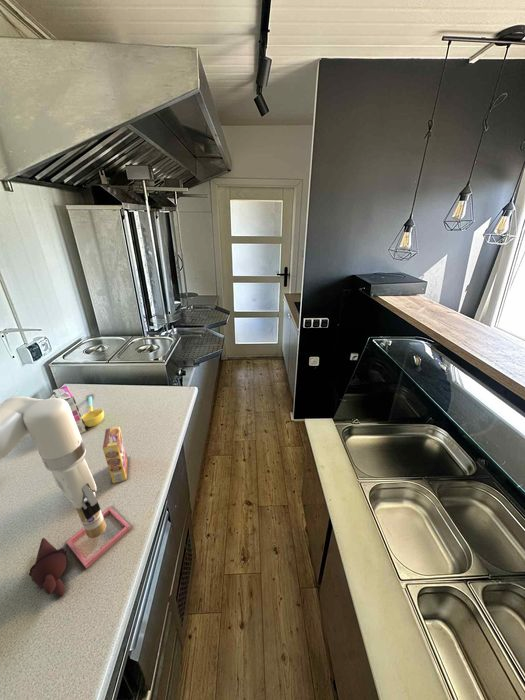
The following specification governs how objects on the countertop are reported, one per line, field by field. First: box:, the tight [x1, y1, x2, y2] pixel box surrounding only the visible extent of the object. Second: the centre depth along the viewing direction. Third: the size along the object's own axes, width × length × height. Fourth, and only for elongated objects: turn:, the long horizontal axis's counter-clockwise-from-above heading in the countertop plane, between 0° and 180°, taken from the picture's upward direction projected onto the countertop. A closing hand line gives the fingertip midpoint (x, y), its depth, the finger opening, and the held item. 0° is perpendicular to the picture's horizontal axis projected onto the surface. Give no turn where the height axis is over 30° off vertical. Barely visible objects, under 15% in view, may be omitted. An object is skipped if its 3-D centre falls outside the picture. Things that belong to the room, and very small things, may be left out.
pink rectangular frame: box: [65, 506, 132, 569], centre depth 74 cm, size 12×10×2 cm
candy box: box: [102, 426, 129, 484], centre depth 90 cm, size 9×4×15 cm, turn 20°
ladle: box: [81, 395, 105, 428], centre depth 120 cm, size 9×26×6 cm, turn 33°
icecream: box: [28, 537, 68, 599], centre depth 66 cm, size 7×7×15 cm
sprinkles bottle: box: [72, 492, 107, 539], centre depth 70 cm, size 5×5×14 cm
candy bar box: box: [52, 385, 88, 434], centre depth 109 cm, size 11×5×16 cm, turn 44°
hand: (87, 507), depth 69 cm, fingers closed on sprinkles bottle, 4 cm apart
